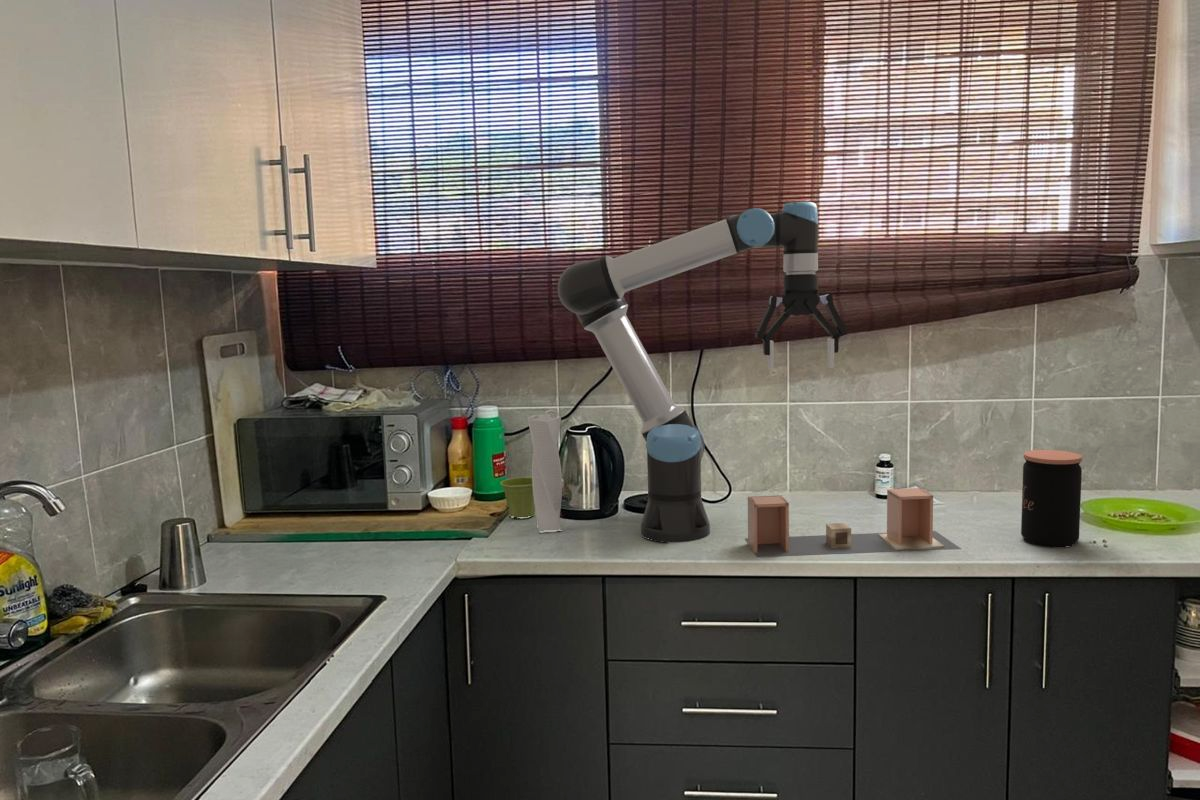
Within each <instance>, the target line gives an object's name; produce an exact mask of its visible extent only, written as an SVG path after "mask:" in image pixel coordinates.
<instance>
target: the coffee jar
mask: <svg viewBox="0 0 1200 800" xmlns="http://www.w3.org/2000/svg"><path fill="white" fill-rule="evenodd" d="M1023 459H1024V460H1025V462H1024V463H1023V465H1022V488H1021V489H1022V490H1021V492H1022V493H1021V495H1022V496H1021V521H1020V522H1021V525H1020V535H1021V536H1022V538H1023V540H1024V541H1025V542H1027V543H1029V544H1031V545H1036V546H1039V547H1044V546H1045V548H1053V547H1063V548H1067V547H1066V546H1070V547H1073V546H1074V544H1075V545H1076V543H1078V541H1079V539H1080V525H1081V502H1082V501H1081V498H1082V497H1081V496H1082V474H1083V472H1082V467H1081V465H1080V464H1081V462H1082V461H1083V456H1082V454H1079V453H1076V452H1071V451H1067V450H1058V449H1033V450H1028V451H1027V450H1026V451H1024V452H1023ZM1072 545H1073V546H1072Z"/></svg>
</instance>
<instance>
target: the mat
mask: <svg viewBox="0 0 1200 800" xmlns="http://www.w3.org/2000/svg"><path fill="white" fill-rule="evenodd" d="M878 534H887V532H873V533H872V532H871V533H867V532H866V533H851V547H849V548H831V547H830V546H829V545H828V544H827V543H826V534H823V535H796V536H789V552H786V551H785V550H784V549H783V547H782V546H781V545H780V543H771V544H757V553H754V555H755V556H756V557H757V558H772V557H773V558H774V557H778V558H779V557H799V556H800V557H801V556H803V557H804V556H821V555H822V556H823V555H827V556H828V555H845V554H846V555H851V554H869V553H871V554H874V553H896V552H918V551H919V552H920V551H923V552H925V551H943V550H945V551H948V550H962V548H961V547H959V546H958V545H956V544H955V543H954V542H952V541H951V540H949V539H948V538H947V537H945V536H944V535H942V534H940V533H939V532H938V531H936V530H933V538H934V539H935V540H937V541H938V542H940V543H941V544H942V545H944V546H945V547H944V548H929V549H905V550H895V549H893V548H892V547H891V546H890V545H889V544H887V543H886V542H885V541H884V540H883V539H881V538H880V537H879V536H878ZM744 541H746V543H747V544H748V537H746V538H744Z"/></svg>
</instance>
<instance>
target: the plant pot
mask: <svg viewBox="0 0 1200 800" xmlns="http://www.w3.org/2000/svg"><path fill="white" fill-rule="evenodd" d="M500 485H501V487H502V489H503V492H504V496H505V500H506V501H505V502H506V505H507V506H508V507H509V512H508V516H509V515H511V516H514V517H528V516H532V515H534V514H535V515H536V512H535V505H534V497H533V487H532V477H514V478H508V479H504V480H502V481H500ZM508 507H507V508H508ZM535 515H534V516H535ZM532 517H533V516H532Z"/></svg>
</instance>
